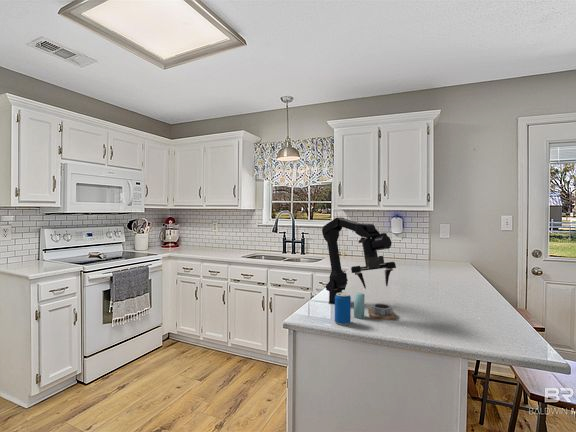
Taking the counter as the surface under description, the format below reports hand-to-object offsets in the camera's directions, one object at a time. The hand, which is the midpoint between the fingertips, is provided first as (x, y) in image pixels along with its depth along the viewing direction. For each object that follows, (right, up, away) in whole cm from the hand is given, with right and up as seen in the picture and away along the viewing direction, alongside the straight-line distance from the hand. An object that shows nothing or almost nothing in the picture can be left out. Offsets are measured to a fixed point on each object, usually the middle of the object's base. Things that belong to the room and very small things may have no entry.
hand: (376, 287), depth 141 cm
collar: (+3, -13, +4) cm, 14 cm away
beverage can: (-16, -13, -7) cm, 22 cm away
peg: (-7, -13, +1) cm, 15 cm away
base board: (+3, -13, +4) cm, 14 cm away
